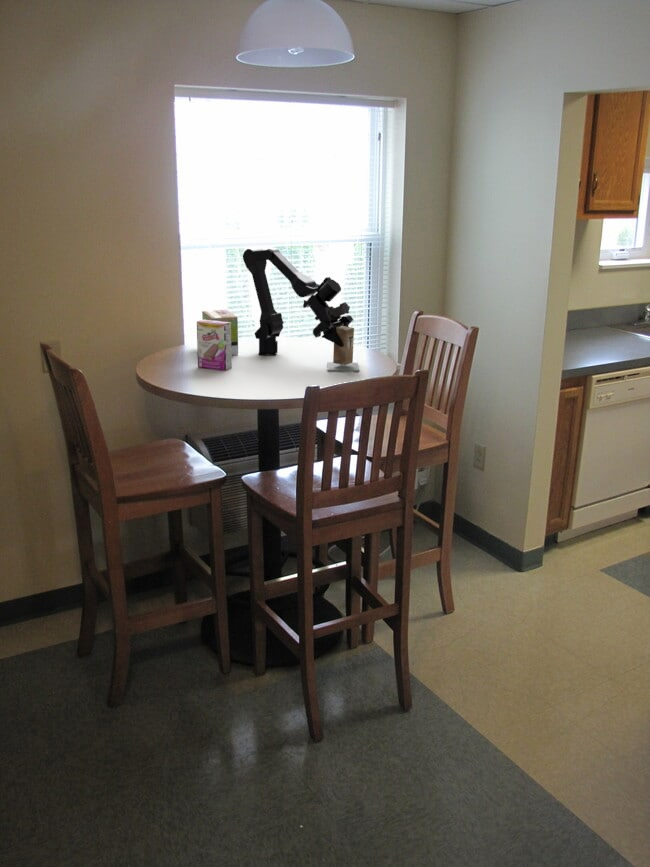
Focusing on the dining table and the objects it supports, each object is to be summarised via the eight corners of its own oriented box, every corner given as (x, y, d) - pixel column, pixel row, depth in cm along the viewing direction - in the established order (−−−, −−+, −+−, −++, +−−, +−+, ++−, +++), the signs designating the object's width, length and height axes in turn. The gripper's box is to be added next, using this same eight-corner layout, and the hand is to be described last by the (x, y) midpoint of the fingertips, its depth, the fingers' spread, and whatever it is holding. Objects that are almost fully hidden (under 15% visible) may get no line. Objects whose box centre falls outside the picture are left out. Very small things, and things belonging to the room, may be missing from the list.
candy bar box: (197, 368, 266) (195, 321, 261) (203, 364, 270) (202, 318, 265) (226, 371, 263) (225, 324, 257) (232, 368, 267) (231, 321, 262)
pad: (327, 371, 266) (327, 369, 266) (327, 363, 276) (327, 362, 276) (359, 372, 266) (359, 370, 266) (357, 364, 276) (357, 362, 276)
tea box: (202, 348, 295) (201, 310, 290) (227, 346, 298) (227, 308, 294) (213, 357, 282) (212, 317, 277) (239, 355, 286) (238, 315, 281)
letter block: (333, 362, 270) (334, 328, 266) (340, 360, 274) (342, 325, 269) (346, 365, 267) (347, 330, 263) (353, 362, 271) (355, 327, 267)
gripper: (320, 298, 257) (347, 335, 255) (349, 292, 272) (375, 327, 270) (301, 319, 264) (326, 355, 262) (330, 311, 279) (355, 345, 277)
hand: (346, 345), depth 268 cm, fingers closed on letter block, 5 cm apart
